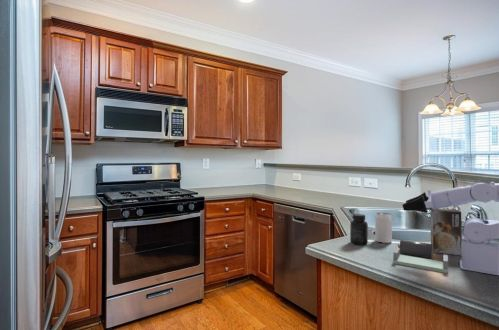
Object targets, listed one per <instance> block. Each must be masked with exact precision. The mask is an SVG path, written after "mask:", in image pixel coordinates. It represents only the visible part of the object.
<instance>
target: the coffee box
mask: <svg viewBox="0 0 499 330" xmlns="http://www.w3.org/2000/svg"><path fill="white" fill-rule="evenodd" d="M462 230H463V229H462V211H460V210H458V209H450V208H438V209H436V210H434V209H432V208H430V244H432V253H435V254H443V255H455V256H462V237H463V236H462V235H463V234H462Z"/></svg>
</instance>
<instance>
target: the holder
mask: <svg viewBox="0 0 499 330" xmlns="http://www.w3.org/2000/svg"><path fill="white" fill-rule="evenodd" d="M392 255H393V256H392V257H393V259H392V263H393V264H394V265H401V266H405V267H406V266H407V267H411V268H417V269H422V270H428V271H433V272H439V273H444V274H448V273H449V254H443V256H442V257H443V261H441V260H437V259H435V260H434V259H431V258H425V257H419V256H412V255H406V254H401V253H400V248H398V247H395V248H394V251H393V253H392Z"/></svg>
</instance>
